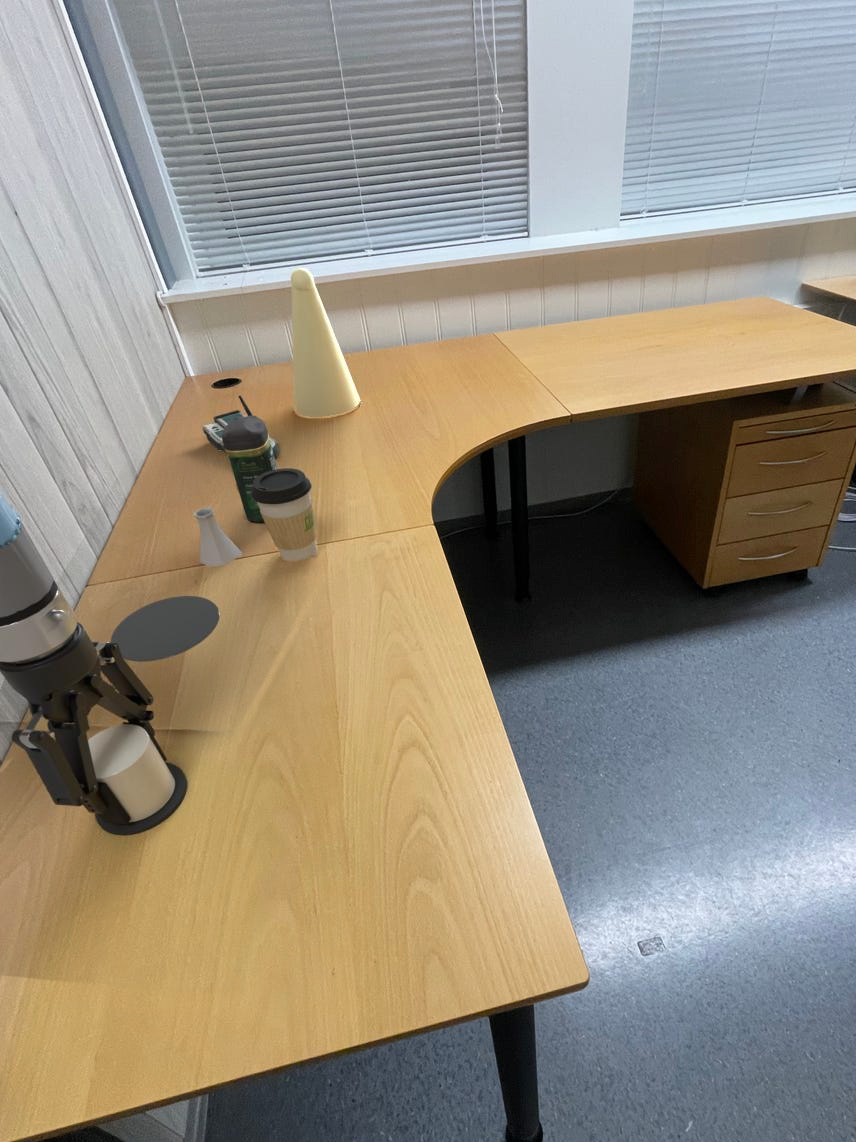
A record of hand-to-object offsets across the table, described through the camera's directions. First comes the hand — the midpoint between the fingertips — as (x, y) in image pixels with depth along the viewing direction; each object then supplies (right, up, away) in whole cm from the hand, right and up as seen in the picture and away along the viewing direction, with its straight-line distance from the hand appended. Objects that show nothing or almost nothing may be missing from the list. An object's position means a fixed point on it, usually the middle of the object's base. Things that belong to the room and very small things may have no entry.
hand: (137, 789), depth 72 cm
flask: (-7, +31, +40) cm, 51 cm away
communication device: (-17, +63, +79) cm, 103 cm away
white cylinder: (0, -1, +1) cm, 1 cm away
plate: (-9, +18, +25) cm, 32 cm away
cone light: (-1, +79, +96) cm, 125 cm away
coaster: (0, -1, +1) cm, 2 cm away
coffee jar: (-3, +43, +54) cm, 69 cm away
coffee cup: (+7, +32, +40) cm, 52 cm away
